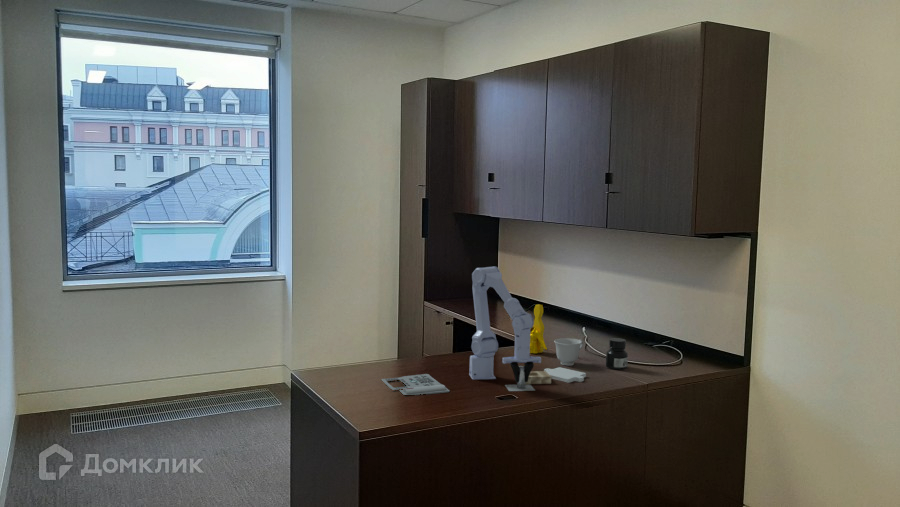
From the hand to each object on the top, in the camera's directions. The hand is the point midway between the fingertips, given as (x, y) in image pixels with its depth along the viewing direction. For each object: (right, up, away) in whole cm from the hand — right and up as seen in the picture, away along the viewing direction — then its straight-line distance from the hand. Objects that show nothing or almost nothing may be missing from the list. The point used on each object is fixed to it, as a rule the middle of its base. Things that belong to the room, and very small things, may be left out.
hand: (521, 381), depth 267 cm
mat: (-1, -3, 0) cm, 3 cm away
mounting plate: (+19, -2, +18) cm, 26 cm away
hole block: (+6, -2, +10) cm, 11 cm away
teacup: (+25, +1, +39) cm, 46 cm away
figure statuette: (+12, +3, +57) cm, 59 cm away
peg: (0, -2, 0) cm, 2 cm away
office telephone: (-40, -3, +1) cm, 41 cm away
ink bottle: (+44, 0, +33) cm, 55 cm away
